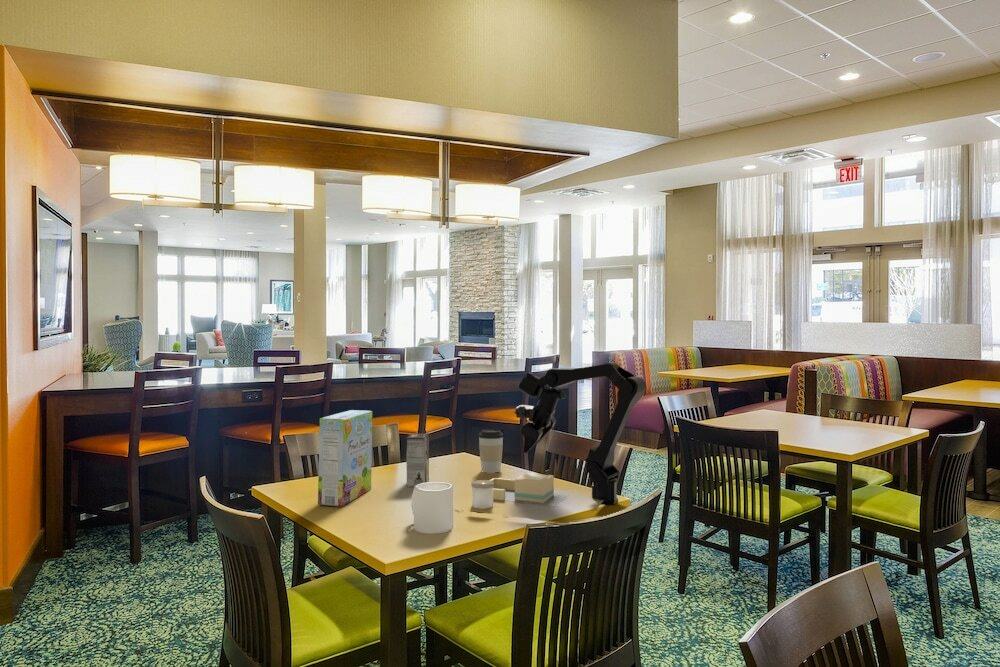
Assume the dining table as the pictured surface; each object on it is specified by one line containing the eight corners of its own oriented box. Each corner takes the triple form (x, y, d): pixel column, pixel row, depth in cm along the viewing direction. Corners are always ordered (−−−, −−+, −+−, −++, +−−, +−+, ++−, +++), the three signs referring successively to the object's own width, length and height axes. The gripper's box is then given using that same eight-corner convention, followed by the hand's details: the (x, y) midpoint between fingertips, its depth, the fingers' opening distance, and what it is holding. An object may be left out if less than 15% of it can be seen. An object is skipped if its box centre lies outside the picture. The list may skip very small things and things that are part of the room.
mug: (397, 525, 173) (397, 484, 173) (427, 516, 181) (427, 478, 181) (431, 536, 164) (431, 493, 164) (461, 526, 171) (461, 486, 171)
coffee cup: (493, 475, 230) (493, 432, 230) (473, 471, 236) (473, 430, 236) (508, 470, 237) (508, 429, 237) (488, 467, 243) (488, 426, 243)
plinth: (568, 498, 199) (568, 484, 199) (553, 510, 186) (553, 495, 186) (493, 490, 209) (493, 477, 209) (474, 501, 196) (474, 487, 196)
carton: (553, 495, 198) (553, 475, 198) (543, 502, 190) (543, 481, 190) (525, 492, 202) (525, 472, 202) (514, 499, 194) (514, 479, 193)
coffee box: (410, 480, 223) (410, 433, 223) (429, 480, 223) (429, 433, 223) (406, 486, 214) (405, 437, 214) (425, 486, 214) (425, 437, 214)
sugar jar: (497, 508, 189) (497, 481, 189) (488, 514, 183) (488, 486, 183) (477, 505, 191) (477, 479, 191) (467, 511, 186) (467, 484, 185)
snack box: (344, 508, 189) (344, 419, 189) (316, 506, 191) (316, 418, 191) (373, 489, 211) (373, 409, 210) (348, 488, 212) (348, 408, 212)
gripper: (533, 389, 218) (517, 430, 222) (513, 400, 201) (497, 445, 204) (563, 403, 214) (547, 444, 218) (546, 416, 197) (528, 461, 201)
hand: (529, 448), depth 210 cm, fingers open, 9 cm apart
